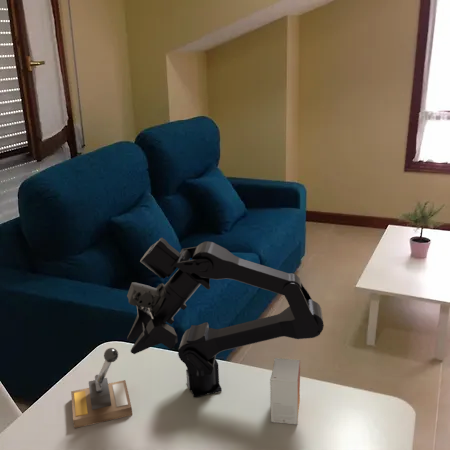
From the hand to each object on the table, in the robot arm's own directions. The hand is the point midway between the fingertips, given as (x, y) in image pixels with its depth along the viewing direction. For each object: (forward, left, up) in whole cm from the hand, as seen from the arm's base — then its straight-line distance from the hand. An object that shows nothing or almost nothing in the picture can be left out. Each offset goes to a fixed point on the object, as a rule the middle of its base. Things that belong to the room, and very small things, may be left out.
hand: (130, 346), depth 115 cm
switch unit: (+8, 0, -14) cm, 16 cm away
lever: (+8, 0, -8) cm, 11 cm away
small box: (-29, +15, -14) cm, 36 cm away
